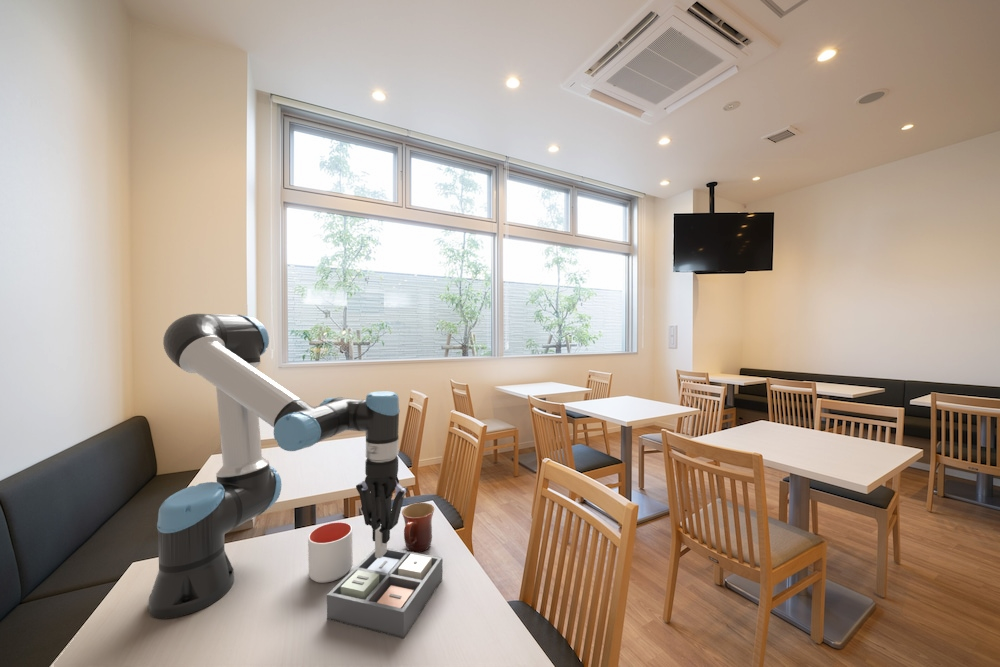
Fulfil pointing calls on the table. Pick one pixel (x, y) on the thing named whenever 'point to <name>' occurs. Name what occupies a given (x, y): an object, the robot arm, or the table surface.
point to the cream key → (415, 567)
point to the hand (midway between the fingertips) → (380, 554)
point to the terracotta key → (396, 596)
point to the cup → (330, 552)
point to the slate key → (383, 564)
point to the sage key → (360, 584)
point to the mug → (418, 526)
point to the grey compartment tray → (375, 613)
